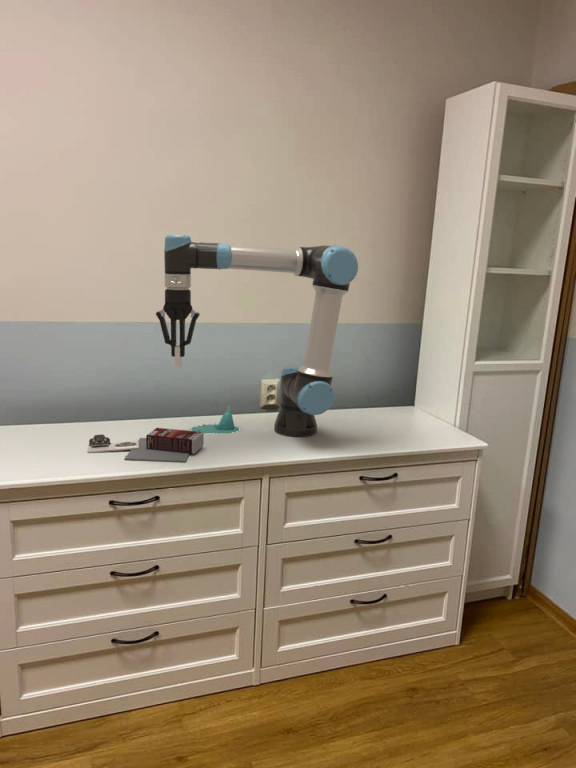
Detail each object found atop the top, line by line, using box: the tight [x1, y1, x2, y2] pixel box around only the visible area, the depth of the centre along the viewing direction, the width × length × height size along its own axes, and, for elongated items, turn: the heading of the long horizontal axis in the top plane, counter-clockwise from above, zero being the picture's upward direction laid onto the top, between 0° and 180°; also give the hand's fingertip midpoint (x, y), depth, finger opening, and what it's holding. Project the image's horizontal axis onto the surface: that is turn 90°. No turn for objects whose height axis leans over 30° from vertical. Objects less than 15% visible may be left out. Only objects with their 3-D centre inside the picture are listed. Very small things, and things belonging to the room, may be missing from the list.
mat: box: [123, 437, 191, 463], centre depth 188 cm, size 18×20×1 cm
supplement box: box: [145, 427, 205, 455], centre depth 189 cm, size 9×5×16 cm
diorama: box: [190, 405, 240, 435], centre depth 212 cm, size 12×20×9 cm, turn 100°
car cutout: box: [87, 434, 139, 454], centre depth 187 cm, size 15×7×4 cm, turn 105°
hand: (178, 367), depth 183 cm, fingers closed
